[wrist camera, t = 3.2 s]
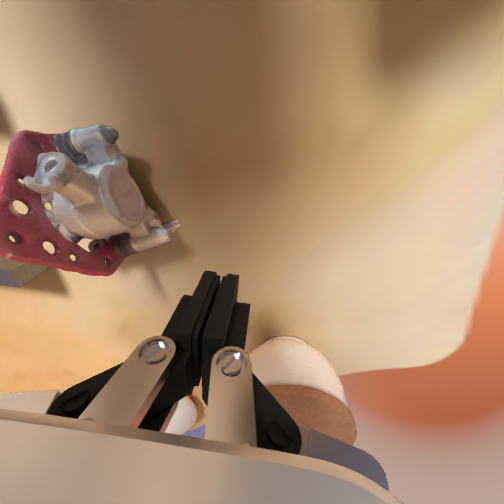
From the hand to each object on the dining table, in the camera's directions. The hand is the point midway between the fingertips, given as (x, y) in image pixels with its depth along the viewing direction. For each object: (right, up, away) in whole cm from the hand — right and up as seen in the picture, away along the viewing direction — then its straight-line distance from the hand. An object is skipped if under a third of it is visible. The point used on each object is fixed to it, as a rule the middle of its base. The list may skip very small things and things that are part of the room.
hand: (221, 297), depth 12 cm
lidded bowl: (+6, -11, +20) cm, 23 cm away
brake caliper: (-11, +8, +11) cm, 17 cm away
